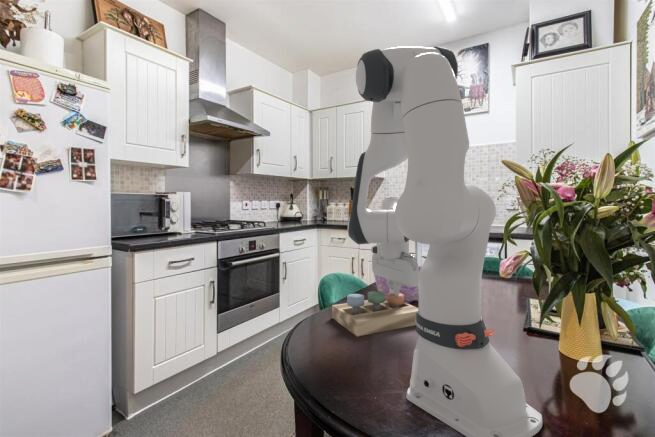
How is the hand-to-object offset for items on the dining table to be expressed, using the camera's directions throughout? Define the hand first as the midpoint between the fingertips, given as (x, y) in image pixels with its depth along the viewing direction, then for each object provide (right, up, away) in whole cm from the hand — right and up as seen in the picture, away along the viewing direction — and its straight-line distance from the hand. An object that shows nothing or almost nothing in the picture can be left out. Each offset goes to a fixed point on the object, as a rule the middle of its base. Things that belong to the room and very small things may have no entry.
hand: (394, 294), depth 102 cm
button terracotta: (0, -6, 0) cm, 6 cm away
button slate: (-12, -5, -6) cm, 14 cm away
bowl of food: (+6, -7, +18) cm, 20 cm away
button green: (-6, -5, -3) cm, 8 cm away
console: (-6, -7, -3) cm, 10 cm away
